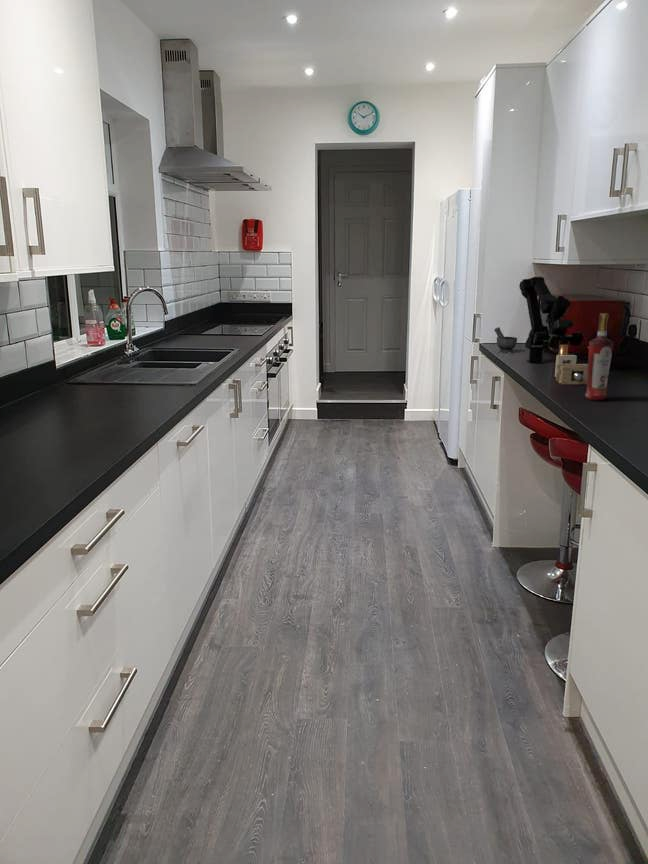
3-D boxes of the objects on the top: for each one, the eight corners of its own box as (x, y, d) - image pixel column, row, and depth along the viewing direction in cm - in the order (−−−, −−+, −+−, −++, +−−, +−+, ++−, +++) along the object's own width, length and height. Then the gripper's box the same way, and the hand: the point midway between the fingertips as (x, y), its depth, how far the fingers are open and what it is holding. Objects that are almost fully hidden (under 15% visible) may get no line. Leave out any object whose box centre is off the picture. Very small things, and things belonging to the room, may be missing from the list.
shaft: (552, 373, 266) (554, 344, 263) (567, 373, 265) (570, 343, 262) (570, 384, 244) (572, 352, 241) (586, 384, 243) (589, 352, 240)
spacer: (554, 376, 261) (556, 354, 259) (572, 376, 261) (574, 354, 259) (556, 377, 258) (558, 356, 256) (574, 377, 258) (576, 356, 256)
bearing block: (556, 380, 252) (557, 363, 251) (585, 380, 252) (587, 363, 250) (561, 384, 246) (563, 367, 244) (591, 384, 245) (593, 367, 244)
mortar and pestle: (513, 350, 328) (515, 326, 325) (519, 353, 319) (520, 328, 316) (490, 350, 328) (492, 326, 325) (495, 353, 319) (496, 328, 316)
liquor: (599, 396, 225) (608, 312, 217) (611, 401, 218) (621, 314, 211) (579, 397, 224) (587, 312, 216) (591, 402, 217) (599, 315, 209)
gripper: (536, 311, 265) (542, 343, 257) (584, 311, 264) (591, 343, 257) (530, 329, 275) (535, 360, 267) (576, 329, 274) (583, 360, 266)
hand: (561, 355), depth 264 cm, fingers closed, pressing on shaft
